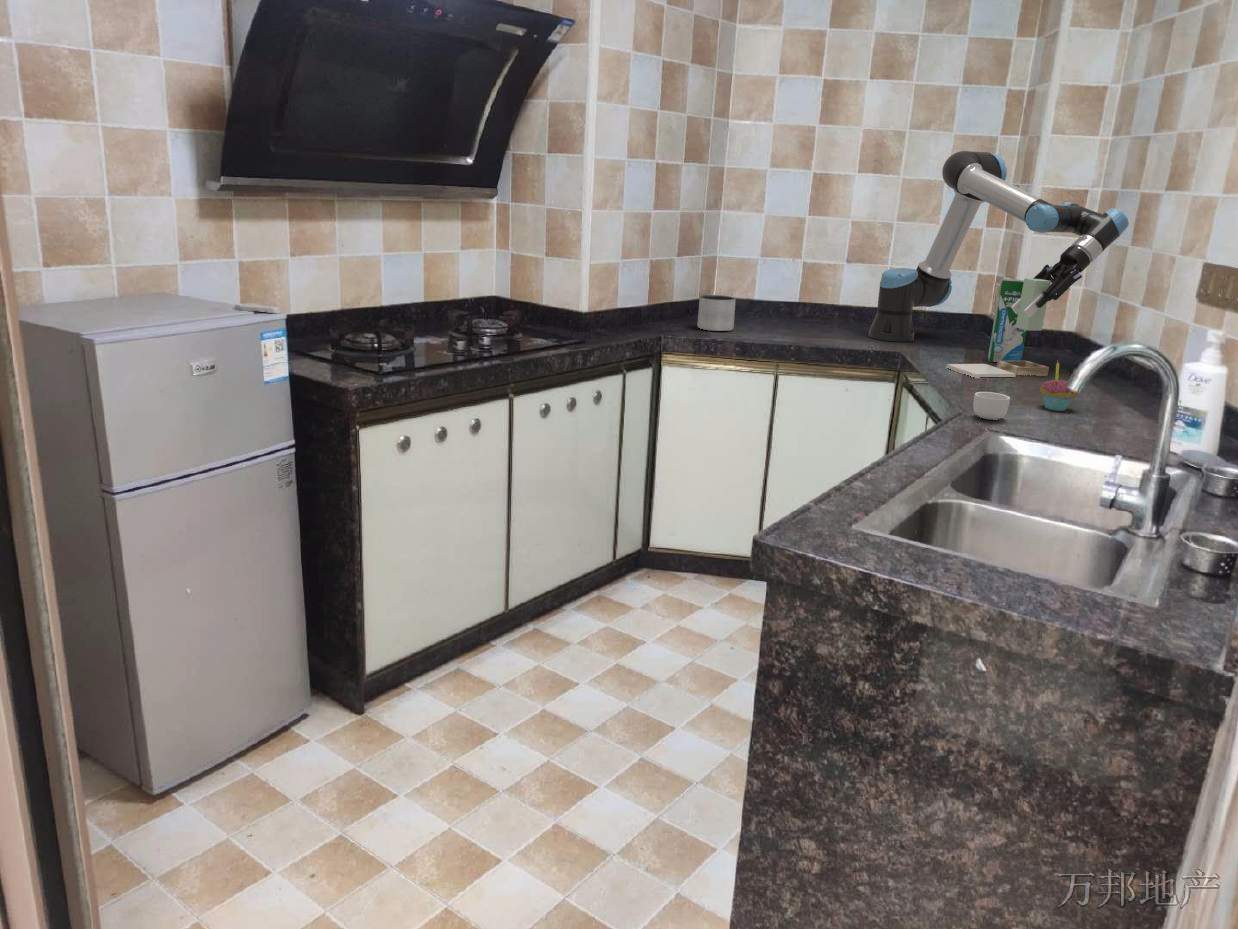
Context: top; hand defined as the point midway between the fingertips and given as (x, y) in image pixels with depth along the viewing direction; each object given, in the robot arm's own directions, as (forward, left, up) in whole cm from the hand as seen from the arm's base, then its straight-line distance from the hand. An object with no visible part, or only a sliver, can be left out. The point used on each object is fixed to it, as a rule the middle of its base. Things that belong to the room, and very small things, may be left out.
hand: (1020, 311), depth 265 cm
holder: (0, +4, -17) cm, 18 cm away
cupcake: (+41, -18, -18) cm, 48 cm away
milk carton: (-16, +10, -18) cm, 26 cm away
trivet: (0, -10, -17) cm, 20 cm away
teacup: (+47, -42, -18) cm, 66 cm away
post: (0, +4, -5) cm, 6 cm away
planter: (-75, -63, -18) cm, 100 cm away
